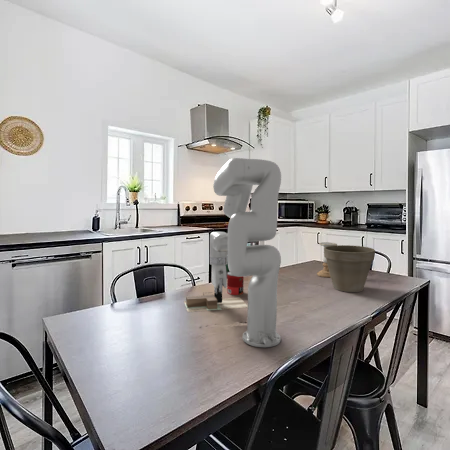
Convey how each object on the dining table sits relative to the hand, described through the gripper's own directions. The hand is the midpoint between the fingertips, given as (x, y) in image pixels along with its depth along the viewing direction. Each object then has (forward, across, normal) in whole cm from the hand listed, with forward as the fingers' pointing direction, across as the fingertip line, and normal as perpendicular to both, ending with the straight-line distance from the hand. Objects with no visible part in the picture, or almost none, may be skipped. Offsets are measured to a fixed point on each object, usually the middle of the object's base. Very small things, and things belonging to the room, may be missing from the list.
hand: (218, 302), depth 138 cm
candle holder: (+2, +42, -79) cm, 89 cm away
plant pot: (+2, +13, -73) cm, 74 cm away
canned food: (+2, +15, -12) cm, 19 cm away
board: (+2, 0, +1) cm, 2 cm away
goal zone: (+2, 0, +7) cm, 7 cm away
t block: (+1, 0, +8) cm, 8 cm away
